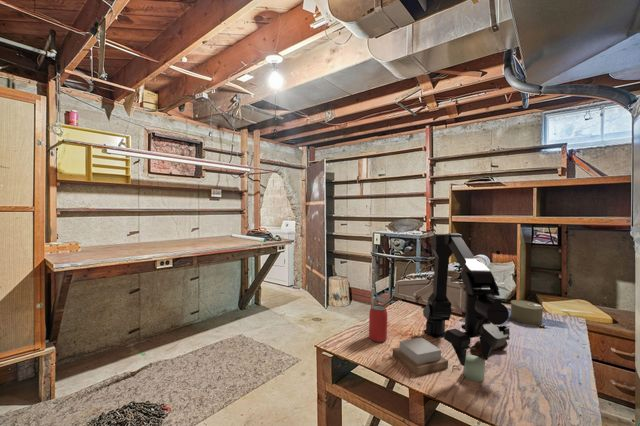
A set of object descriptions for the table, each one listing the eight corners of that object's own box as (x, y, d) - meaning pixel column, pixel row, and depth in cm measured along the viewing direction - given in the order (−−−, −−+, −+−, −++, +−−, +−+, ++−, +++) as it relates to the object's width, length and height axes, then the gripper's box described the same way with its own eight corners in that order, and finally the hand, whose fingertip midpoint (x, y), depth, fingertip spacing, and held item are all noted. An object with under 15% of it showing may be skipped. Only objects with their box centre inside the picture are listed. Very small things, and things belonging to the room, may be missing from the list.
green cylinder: (472, 369, 90) (473, 353, 90) (488, 379, 85) (489, 362, 85) (459, 372, 88) (459, 356, 88) (474, 383, 83) (475, 366, 83)
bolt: (471, 361, 98) (497, 350, 105) (483, 360, 94) (510, 349, 101) (463, 343, 101) (490, 333, 108) (475, 341, 97) (502, 331, 104)
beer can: (386, 343, 106) (387, 311, 105) (368, 341, 107) (369, 309, 106) (386, 335, 112) (387, 305, 112) (369, 333, 113) (369, 303, 113)
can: (505, 313, 139) (506, 298, 138) (533, 315, 136) (534, 301, 136) (517, 323, 127) (518, 307, 127) (548, 326, 125) (549, 310, 124)
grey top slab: (421, 346, 100) (421, 337, 100) (440, 359, 91) (441, 350, 91) (399, 350, 97) (399, 341, 97) (417, 364, 88) (417, 354, 88)
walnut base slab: (421, 351, 102) (421, 343, 102) (447, 370, 91) (448, 360, 91) (392, 357, 98) (392, 348, 97) (416, 377, 86) (417, 368, 86)
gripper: (476, 325, 75) (474, 384, 76) (525, 316, 82) (522, 370, 83) (443, 310, 86) (441, 362, 86) (489, 303, 92) (487, 351, 93)
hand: (474, 362), depth 87 cm, fingers open, 9 cm apart
